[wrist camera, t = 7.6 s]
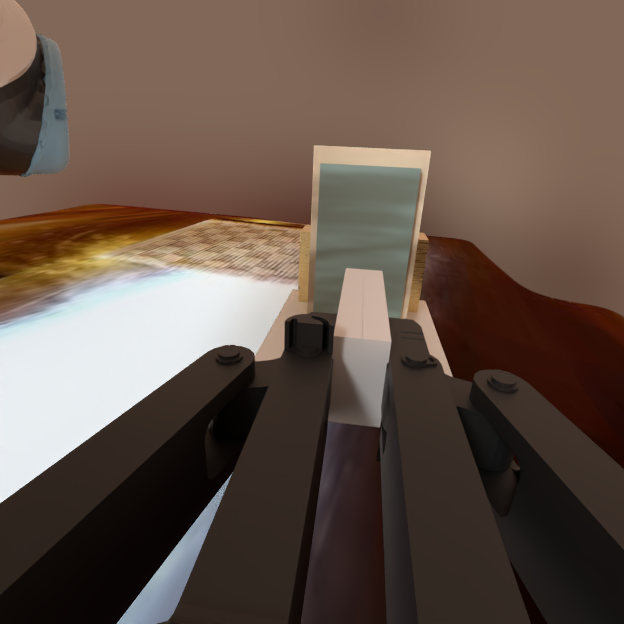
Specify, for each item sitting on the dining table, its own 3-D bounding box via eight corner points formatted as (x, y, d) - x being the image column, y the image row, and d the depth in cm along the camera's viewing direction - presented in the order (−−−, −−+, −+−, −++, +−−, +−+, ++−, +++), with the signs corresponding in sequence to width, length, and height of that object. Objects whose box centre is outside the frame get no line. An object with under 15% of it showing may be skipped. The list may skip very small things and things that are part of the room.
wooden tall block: (404, 337, 27) (432, 150, 23) (305, 327, 28) (312, 145, 24) (400, 312, 32) (422, 150, 27) (313, 304, 32) (321, 146, 28)
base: (450, 415, 23) (456, 386, 22) (251, 392, 24) (250, 364, 24) (421, 321, 36) (425, 300, 35) (292, 309, 37) (292, 289, 37)
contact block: (417, 312, 33) (428, 240, 30) (298, 301, 34) (300, 231, 31) (413, 299, 35) (424, 232, 33) (303, 290, 36) (306, 224, 34)
